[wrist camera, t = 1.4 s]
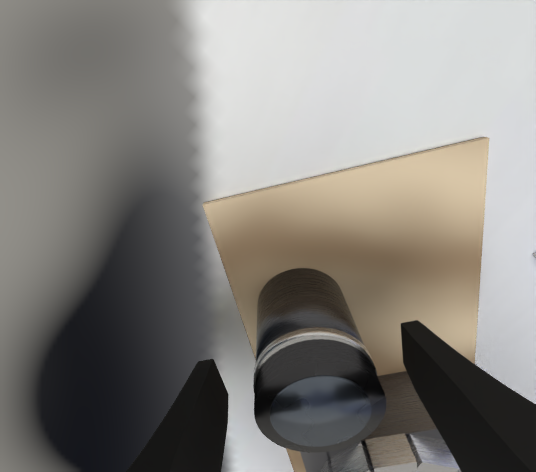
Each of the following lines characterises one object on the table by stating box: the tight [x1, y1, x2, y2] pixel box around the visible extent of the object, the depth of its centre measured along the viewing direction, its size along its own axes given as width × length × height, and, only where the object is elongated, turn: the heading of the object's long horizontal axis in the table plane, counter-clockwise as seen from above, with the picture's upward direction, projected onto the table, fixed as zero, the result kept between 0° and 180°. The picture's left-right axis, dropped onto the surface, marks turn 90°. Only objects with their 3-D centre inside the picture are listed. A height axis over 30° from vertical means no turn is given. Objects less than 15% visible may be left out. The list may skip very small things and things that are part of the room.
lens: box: [254, 268, 386, 453], centre depth 12 cm, size 4×4×6 cm
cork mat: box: [203, 137, 489, 472], centre depth 17 cm, size 22×12×1 cm, turn 13°
